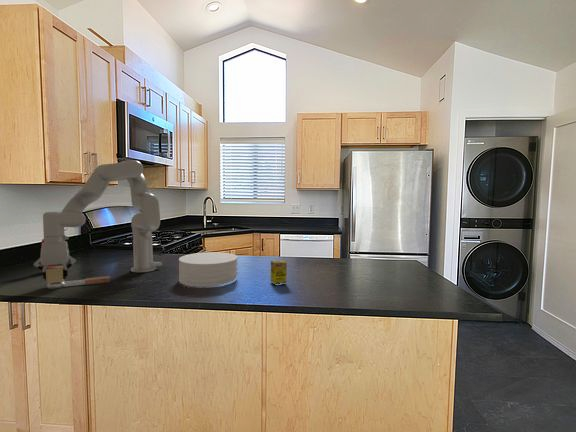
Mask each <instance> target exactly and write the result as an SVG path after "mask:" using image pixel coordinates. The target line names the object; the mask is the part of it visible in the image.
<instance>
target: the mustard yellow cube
mask: <svg viewBox="0 0 576 432" xmlns="http://www.w3.org/2000/svg"><path fill="white" fill-rule="evenodd" d="M63 270H64V268H63V266H62V265H57V266H52V267H48V268H47V269H46V281H45V283H46V284H47V283H54V282H63V281H65V279H63Z"/></svg>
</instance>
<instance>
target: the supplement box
mask: <svg viewBox="0 0 576 432" xmlns="http://www.w3.org/2000/svg"><path fill="white" fill-rule="evenodd" d="M287 266H288V264H287V261H285V260H270V280H269V281H271V282H273V283H274V284H280V283H286V284H287V268H288V267H287Z"/></svg>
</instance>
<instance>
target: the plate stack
mask: <svg viewBox="0 0 576 432" xmlns="http://www.w3.org/2000/svg"><path fill="white" fill-rule="evenodd" d="M178 263H179V264H178V268H179V269H178V273H179V274H178V278H179V280H178V283H179V282H180V283H182V284H185V285H190V286H193V285H195V286H210V285H219V284H224V283H228V282H230V281H233V280H234V279H235V278H236V276H237V277H238V255H236V254H234V253H230V252H219V251H217V252H215V251H211V252H208V251H206V252H197V253H195V252H194V253H190V254H186V255H182V256H180V257H179V258H178ZM180 283H179V284H180Z"/></svg>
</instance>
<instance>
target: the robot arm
mask: <svg viewBox="0 0 576 432" xmlns="http://www.w3.org/2000/svg"><path fill="white" fill-rule="evenodd" d="M143 172H144V166H143V164H142V163H141V162H140V161H139V160H136V159H131V160H130V159H129V160H122V161H120V162H115V163H105V164H103V163H102V164H100V165H98V166H97V167H95V169H94V170H93V172H92V173H91V174H90V176H89V177H88V178H87V180H86V182H85V183H84V184H83V186H82V187H81V188H80V190H78V191H77V193H76V194H75V195H73V196H72V197H71V198H70V200H68V202H67V203H66V205H65V206H64V207H63V209H62V210H61V211H46V212H44V213H43V215H42V223H43V224H42V227H43V239H44V243H42V244H41V248H40V257H39V258H38V259H37V260H36V261H35V262H34V263H33V266H34V267H36V268H37V269H38V270H40V271H41V273H42V272H43V273H42V277H43V278H42V279H44V282H46V269H47V267H48V265H57V266H63V268H64V270H63V279H64V280H65V279H67V277H68V275H69V274H68V273H69V272H68V270H69V268H71V267H72V266H73V265H74V264H75V263H76V262H77V259H75V258H73V256H71V255H70V250H69V244H68V241H66V240H69V239H70V238H69V236H66V234H65V228H80V227H83V225H85V223H86V220H87V218H86V216H85V214H84V213H83V211H85V209H86V208H87V207H88V206H89V205H91V204H92V203H94V202H95V201H98V200H99V199H100V198H101V197H102V195H103V194H104V193H105V190H106V189H107V188H108V186H109V184H110V183H112V182H119V181H123V180H126V181H127V182H128V184H129V188H130V197H131V199H130V201H131V206H132V208H134V209H135V210H137V211H140V212H138V213H136V214H134V215H133V216H132V218H131V221H130V223H131V224H130V226H131V231H132V239H133V240H132V241H133V242H132V243H133V244H132V245H133V246H132V247H133V250H132V251H133V252H132V253H133V267H131V268H130V271H131V272H132V273H138V274H139V273H149V272H153V271H155V270H156V269H157V267H159V266H163V264H162V261H154V259H153V255H154V254H153V232H155V231H157V230H158V229H159V228H160V225H161V214H160V212H161V211H160V204H159V199H158V198H157V196H156V195H155V194H153V193H151V192H149V188H148V182H147V179H146V177H145V176H144V174H143ZM41 265H44V267H43V266H41Z"/></svg>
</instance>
